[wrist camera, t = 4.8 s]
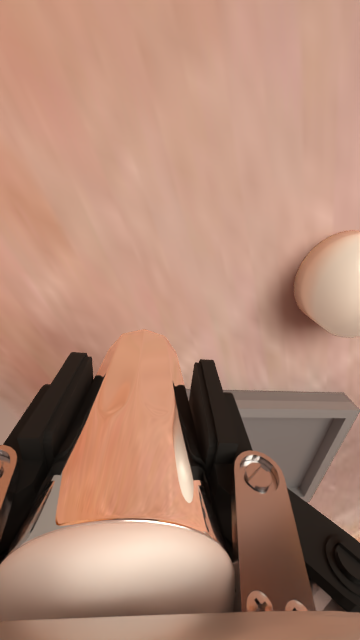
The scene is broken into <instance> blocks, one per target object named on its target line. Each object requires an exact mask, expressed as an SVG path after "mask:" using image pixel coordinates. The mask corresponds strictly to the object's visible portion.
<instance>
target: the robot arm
mask: <svg viewBox="0 0 360 640" xmlns="http://www.w3.org/2000/svg"><path fill="white" fill-rule="evenodd" d="M92 382H93V367H92V357H88V356H87V353H77V352H72V353H70V355H69V356H68V358H67V360H66V361H65V363H64V364H63V366H62V368H61V369H60V371H59V372H58V374H57V375H56V377H55V379H54V380H53V382H52V383H51V385H49V384H45V385H44V386H43V387H42V388H41V389H40V391H39V392H38V393H37V395H36V396H35V398H34V399H33V401H32V402H31V404H30V405H29V407H28V408H27V410H26V411H25V413H24V414H23V416H22V417H21V419H20V420H19V422H18V423H17V425H16V426H15V428H14V429H13V431H12V432H11V434H10V435H9V437H8V438H7V440H6V441H5V443H4V444H3V445H0V561H1V559H2V557H3V555H4V553H5V551H6V549H7V548H8V546H9V544H10V542H11V540H12V538H13V536H14V534H15V532H16V530H17V529H18V527H19V525H20V523H21V521H22V519H23V517H24V515H25V513H26V512H27V510H28V508H29V506H30V504H31V502H32V500H33V498H34V496H35V495H36V493H37V491H38V489H39V487H40V485H41V483H42V481H43V479H44V477H45V476H46V474H47V472H48V470H49V468H50V466H51V464H52V462H53V460H54V459H55V457H56V455H57V453H58V451H59V449H60V447H61V445H62V443H63V441H64V439H65V437H66V435H67V433H68V431H69V429H70V427H71V425H72V423H73V421H74V419H75V417H76V415H77V413H78V411H79V409H80V407H81V404H82V402H83V400H84V398H85V396H86V394H87V392H88V390H89V388H90V386H91V384H92ZM189 405H190V409H191V413H192V417H193V421H194V425H195V429H196V433H197V437H198V441H199V445H200V449H201V453H202V456H203V460H204V464H205V467H206V471H207V474H208V478H209V481H210V485H211V488H212V492H213V495H214V499H215V503H216V506H217V510H218V513H219V517H220V520H221V524H222V527H223V531H224V534H225V538H226V541H227V545H228V549H229V552H230V556H231V560H232V563H233V566H234V570H235V592H236V596H235V598H234V605H233V612H232V613H205V614H174V615H147V616H121V617H94V618H69V619H43V620H19V621H0V640H360V543H359V542H358V541H357V540H356V539H355V538H353V537H352V536H351V535H349V534H348V533H347V532H345V531H344V530H343V529H341V528H340V527H339V526H337V525H336V524H335V523H333V522H332V521H331V520H329V519H328V518H327V517H325V516H324V515H323V514H321V513H320V512H319V511H317V510H316V509H315V508H313V507H312V506H311V505H309V504H308V503H307V502H305V501H304V500H303V499H301V498H300V497H299V496H297V495H296V494H295V493H293V492H292V491H291V490H289V489H288V488H287V486H286V482H285V478H284V475H283V473H282V470H281V469H280V467H279V466H278V465H277V463H276V462H275V461H274V460H272V459H271V458H270V457H269V456H267V455H265V454H264V453H261V452H258V451H253V450H252V447H251V444H250V441H249V438H248V435H247V432H246V430H245V427H244V424H243V421H242V418H241V415H240V412H239V410H238V407H237V404H236V401H235V398H234V396H233V394H232V393H231V392H223V390H222V387H221V383H220V380H219V377H218V373H217V370H216V367H215V363H214V361H213V360H202V359H200V361H199V363H195V364H194V370H193V377H192V383H191V390H190V396H189Z"/></svg>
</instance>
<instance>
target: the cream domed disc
mask: <svg viewBox="0 0 360 640" xmlns="http://www.w3.org/2000/svg"><path fill="white" fill-rule="evenodd" d="M294 297H295V300H296V303H297V305H298V307H299V308H300V310H301V311H302V312H303V313H304V314H305V315H307V316H308V317H309V318H311V319H312V320H313V321H315V322H316V323H317V324H318V325H320V326H321V327H322V328H324V329H325V330H326V331H328V332H329V333H331V334H333V335H335V336H339V337H345V338H354V337H360V231H355V230H351V231H344V232H340V233H337V234H334V235H332V236H330V237H328V238H326V239H325V240H323V241H322V242H320V243H319V244H318V245H316V246H315V247H314V248H313V249H312V250H311V251H310V252H309V253H308V255H307V256H306V257H305V258H304V260H303V262H302V263H301V265H300V267H299V269H298V271H297V274H296V277H295V281H294Z"/></svg>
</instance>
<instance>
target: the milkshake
mask: <svg viewBox="0 0 360 640" xmlns="http://www.w3.org/2000/svg"><path fill="white" fill-rule="evenodd" d="M235 596H236V592H235V570H234V566H233V563H232V560H231V556H230V552H229V549H228V545H227V541H226V538H225V534H224V531H223V527H222V524H221V520H220V517H219V513H218V510H217V506H216V503H215V499H214V495H213V492H212V488H211V485H210V481H209V478H208V474H207V471H206V467H205V464H204V460H203V456H202V453H201V449H200V445H199V441H198V437H197V433H196V429H195V425H194V421H193V417H192V413H191V409H190V405H189V401H188V397H187V393H186V389H185V385H184V381H183V377H182V373H181V369H180V365H179V361H178V357H177V353H176V351H175V350H174V348H173V347H172V346H171V344H170V343H169V341H168V340H167V338H166V337H165V336H163V335H160V334H157V333H155V332H152V331H149V330H146V329H141V330H137V331H132V332H128V333H123V334H122V335H121V336H120V337H119V338H118V339H117V341H116V342H115V343H114V344H113V345H112V346H111V347H110V348H109V350H108V352H107V354H106V356H105V358H104V360H103V362H102V364H101V366H100V368H99V370H98V372H97V374H96V376H95V378H94V380H93V382H92V384H91V386H90V388H89V390H88V392H87V394H86V396H85V398H84V400H83V402H82V404H81V407H80V409H79V411H78V413H77V415H76V417H75V419H74V421H73V423H72V425H71V427H70V429H69V431H68V433H67V435H66V437H65V439H64V441H63V443H62V445H61V447H60V449H59V451H58V453H57V455H56V457H55V459H54V460H53V462H52V464H51V466H50V468H49V470H48V472H47V474H46V476H45V477H44V479H43V481H42V483H41V485H40V487H39V489H38V491H37V493H36V495H35V496H34V498H33V500H32V502H31V504H30V506H29V508H28V510H27V512H26V513H25V515H24V517H23V519H22V521H21V523H20V525H19V527H18V529H17V530H16V532H15V534H14V536H13V538H12V540H11V542H10V544H9V546H8V548H7V549H6V551H5V553H4V555H3V557H2V559H1V561H0V621H19V620H43V619H69V618H94V617H121V616H147V615H174V614H205V613H232V612H233V605H234V598H235Z"/></svg>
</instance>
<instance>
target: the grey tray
mask: <svg viewBox="0 0 360 640" xmlns="http://www.w3.org/2000/svg"><path fill="white" fill-rule="evenodd" d="M223 392H231V393H232V394H233V396H234V398H235V401H236V404H237V407H238V410H239V412H240V415H241V418H242V421H243V424H244V427H245V430H246V432H247V435H248V438H249V441H250V444H251V447H252V450H253V451H258V452H261V453H264V454H265V455H267V456H269V457H270V458H271V459H272V460H274V461H275V462H276V463H277V465H278V466H279V467H280V469H281V470H282V473H283V475H284V478H285V482H286V486H287V488H288V489H289V490H291V491H292V492H293V493H295V494H296V495H297V496H299V497H300V498H301V499H303V500H304V501H305V502H310V500H311V498H312V497H313V495H314V493H315V491H316V489H317V488H318V486H319V484H320V482H321V480H322V479H323V477H324V475H325V473H326V471H327V470H328V468H329V466H330V464H331V462H332V461H333V459H334V457H335V455H336V453H337V452H338V450H339V448H340V446H341V444H342V443H343V441H344V439H345V437H346V435H347V434H348V432H349V430H350V428H351V426H352V425H353V423H354V421H355V419H356V417H357V416H358V414H359V412H360V409H359V408H358V407H357V406H356V405H355V404H354V403H353V402H352V401H351V400H350V399H349V398H348V397H347V396H346V395H345V394H344V393H325V392H280V391H235V390H223ZM186 393H187V397H188V401H189V396H190V389H186Z"/></svg>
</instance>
